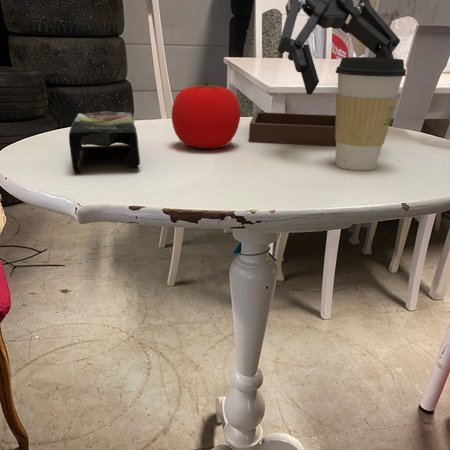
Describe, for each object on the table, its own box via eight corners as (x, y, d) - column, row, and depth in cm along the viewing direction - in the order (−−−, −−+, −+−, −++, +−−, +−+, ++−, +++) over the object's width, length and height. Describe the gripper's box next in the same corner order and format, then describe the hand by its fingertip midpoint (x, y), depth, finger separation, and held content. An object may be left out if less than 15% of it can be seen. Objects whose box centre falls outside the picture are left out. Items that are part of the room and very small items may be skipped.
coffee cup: (399, 166, 74) (421, 59, 66) (367, 177, 68) (387, 61, 60) (345, 155, 80) (359, 56, 72) (311, 164, 74) (323, 57, 66)
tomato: (171, 153, 78) (168, 85, 73) (174, 139, 88) (172, 78, 83) (242, 154, 79) (244, 86, 74) (237, 140, 89) (238, 79, 84)
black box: (78, 144, 82) (73, 107, 79) (134, 143, 84) (132, 107, 81) (70, 176, 65) (64, 130, 62) (142, 174, 67) (139, 130, 64)
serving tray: (337, 131, 99) (339, 115, 97) (343, 146, 86) (346, 127, 85) (254, 128, 100) (255, 111, 99) (248, 141, 88) (249, 123, 86)
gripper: (373, -1, 83) (408, 102, 78) (240, -7, 76) (269, 105, 71) (397, -41, 76) (437, 69, 71) (253, -52, 69) (286, 69, 64)
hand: (353, 88), depth 71 cm, fingers open, 13 cm apart
